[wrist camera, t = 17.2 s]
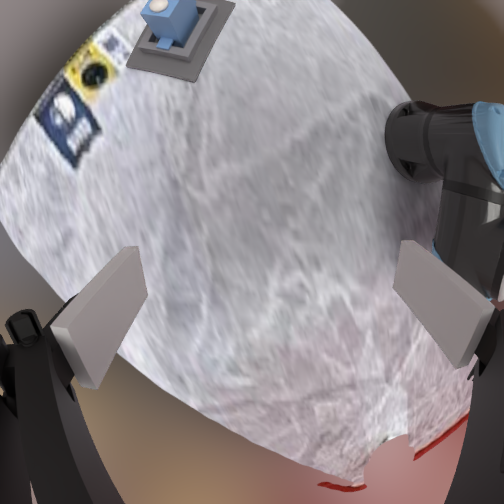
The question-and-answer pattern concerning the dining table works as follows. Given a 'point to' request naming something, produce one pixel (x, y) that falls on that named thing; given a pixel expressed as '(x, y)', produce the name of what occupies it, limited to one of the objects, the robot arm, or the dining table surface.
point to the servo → (171, 21)
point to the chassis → (195, 50)
